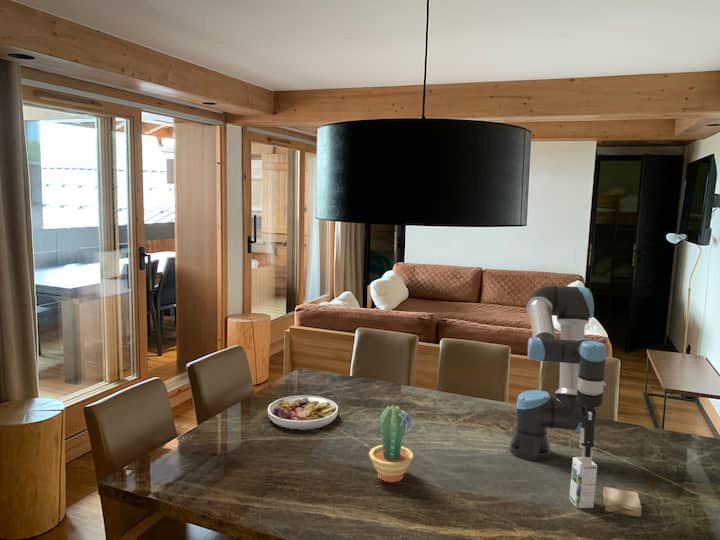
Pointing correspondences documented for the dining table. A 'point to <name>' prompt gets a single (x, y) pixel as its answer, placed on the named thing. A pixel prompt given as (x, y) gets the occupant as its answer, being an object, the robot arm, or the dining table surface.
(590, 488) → the syrup box
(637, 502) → the panel
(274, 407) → the bowl
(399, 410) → the potted cactus
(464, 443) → the dining table surface
